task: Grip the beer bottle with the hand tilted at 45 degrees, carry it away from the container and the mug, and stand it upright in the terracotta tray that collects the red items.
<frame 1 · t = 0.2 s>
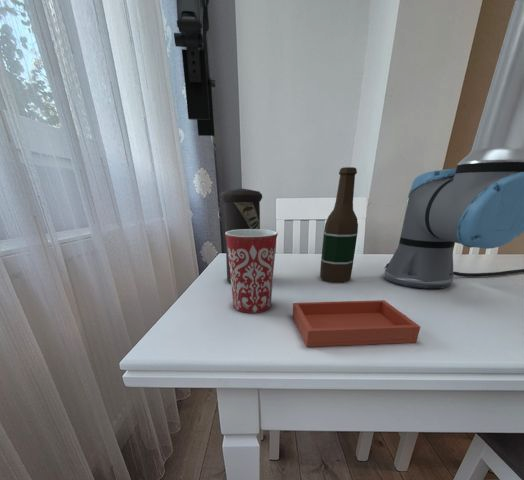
hand: (203, 128, 44), 28 cm above the table, tool pointing down, fingers open, 13 cm apart
container: (244, 281, 72), on the table
beer bottle: (334, 279, 74), on the table
red tray: (348, 328, 48), on the table
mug: (251, 304, 58), on the table
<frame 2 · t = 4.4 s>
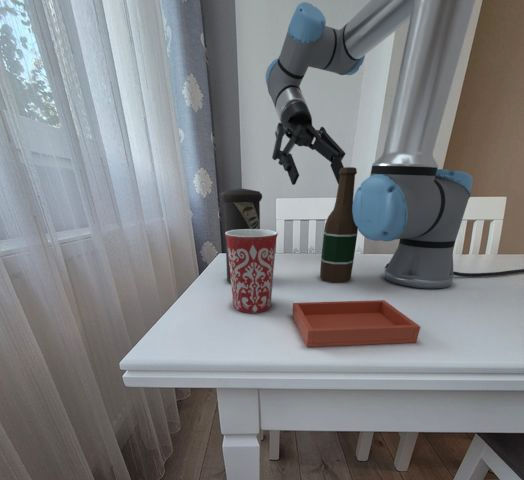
hand: (319, 180, 72), 22 cm above the table, tool tilted 45°, fingers open, 13 cm apart
nothing on the table moved.
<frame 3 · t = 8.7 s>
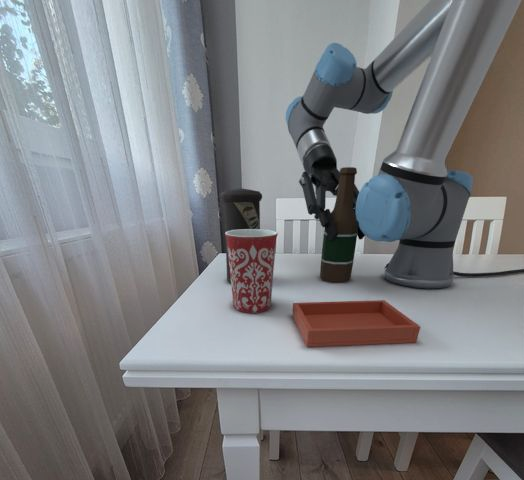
hand: (349, 236, 66), 11 cm above the table, tool tilted 45°, fingers closed on beer bottle, 7 cm apart
beer bottle: (334, 279, 74), on the table, touching gripper
everything else where it was.
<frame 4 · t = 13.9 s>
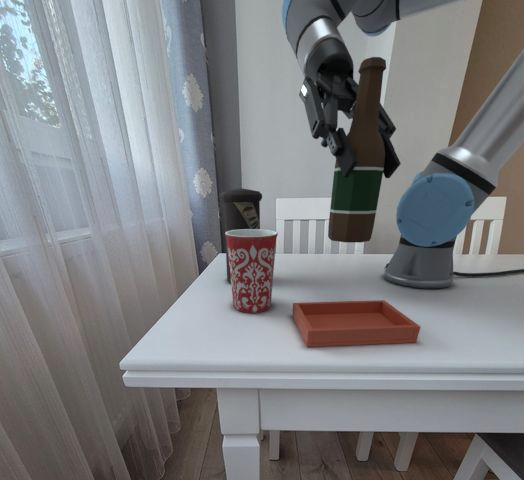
hand: (372, 170, 45), 23 cm above the table, tool tilted 45°, fingers closed on beer bottle, 7 cm apart
beer bottle: (348, 240, 53), point 12 cm above the table, touching gripper
everything else where it was.
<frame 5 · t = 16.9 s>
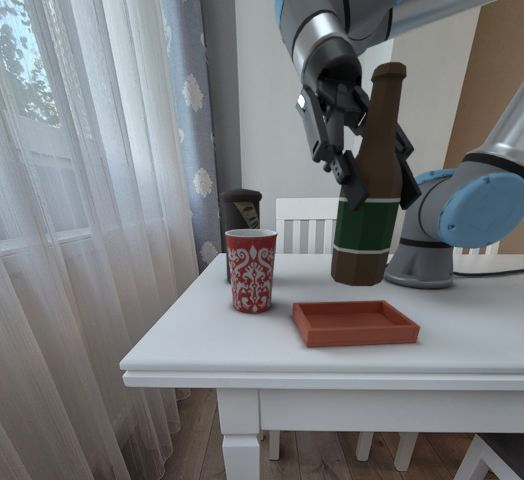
hand: (387, 202, 36), 19 cm above the table, tool tilted 45°, fingers closed on beer bottle, 7 cm apart
beer bottle: (355, 281, 44), point 8 cm above the table, touching gripper
everything else where it was.
when the fingers open (11 cm above the table, at t = 19.4 s): beer bottle stays where it is, resting on red tray.
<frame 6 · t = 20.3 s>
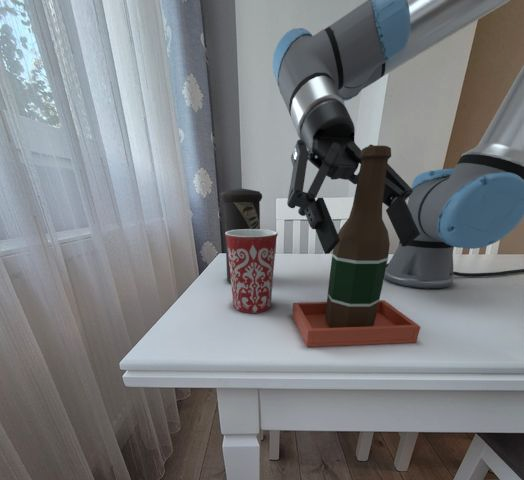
hand: (374, 244, 40), 13 cm above the table, tool tilted 45°, fingers open, 13 cm apart
beer bottle: (348, 325, 48), resting on red tray
everything else where it was.
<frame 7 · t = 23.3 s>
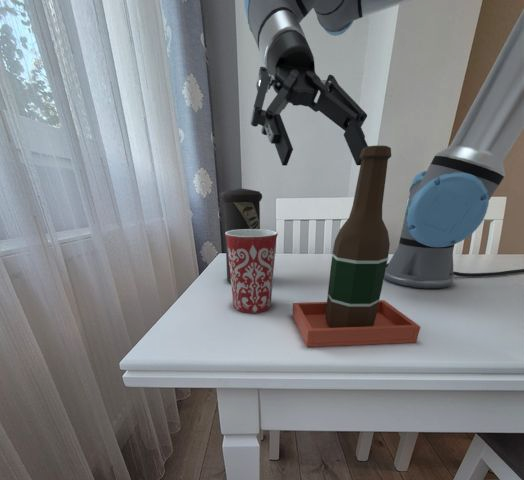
hand: (327, 158, 45), 24 cm above the table, tool tilted 45°, fingers open, 13 cm apart
nothing on the table moved.
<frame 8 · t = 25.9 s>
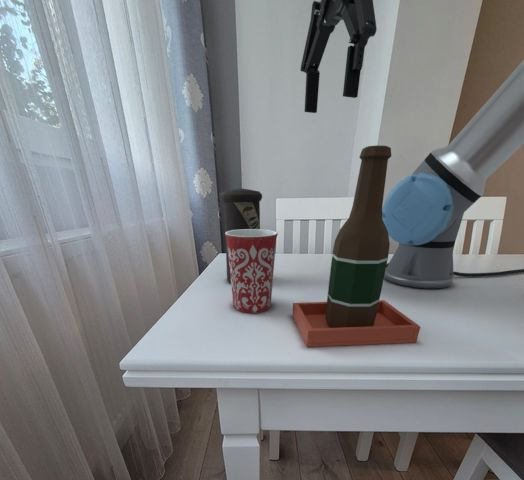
hand: (328, 105, 59), 35 cm above the table, tool pointing down, fingers open, 13 cm apart
nothing on the table moved.
at the end: beer bottle inside the target area in the red tray (0.1 cm from its centre), point 0.4 cm above the red tray's base; beer bottle tilted 0°; the gripper is holding nothing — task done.
